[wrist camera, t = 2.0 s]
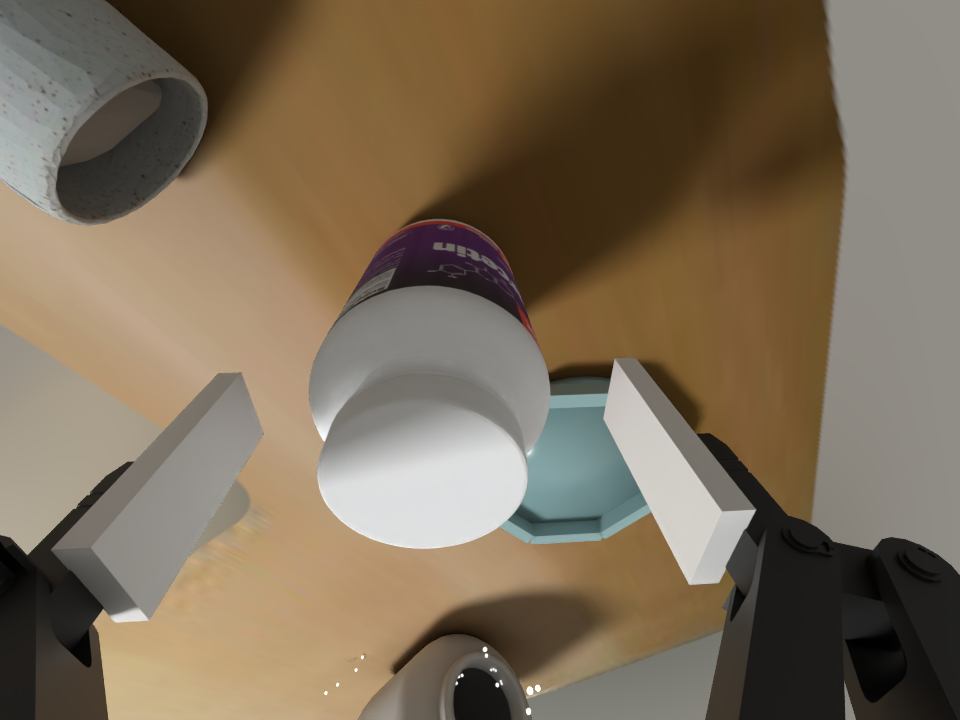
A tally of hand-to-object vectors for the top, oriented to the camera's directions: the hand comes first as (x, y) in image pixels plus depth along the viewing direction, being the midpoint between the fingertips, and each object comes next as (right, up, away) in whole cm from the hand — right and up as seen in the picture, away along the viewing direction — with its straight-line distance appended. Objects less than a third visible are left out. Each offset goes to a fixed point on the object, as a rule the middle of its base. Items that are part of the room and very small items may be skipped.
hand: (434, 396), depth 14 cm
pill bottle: (-1, +6, +8) cm, 10 cm away
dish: (+8, -6, +16) cm, 19 cm away
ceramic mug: (-15, +12, +3) cm, 20 cm away
